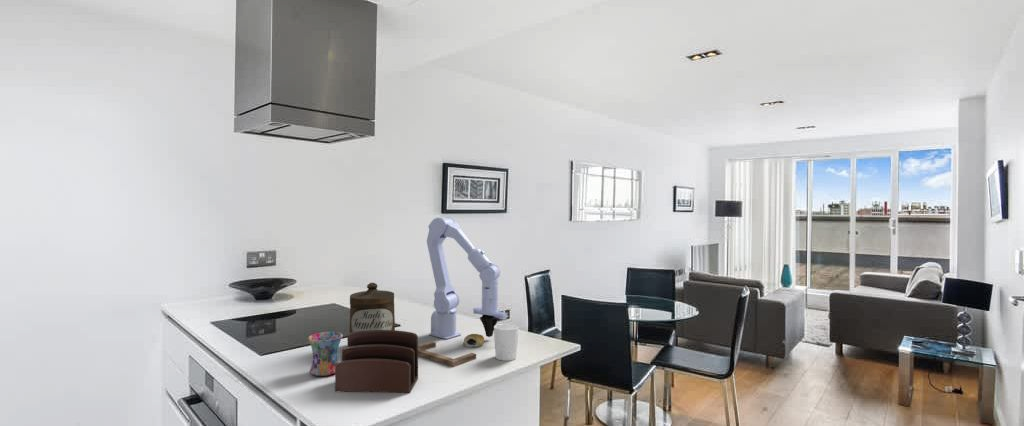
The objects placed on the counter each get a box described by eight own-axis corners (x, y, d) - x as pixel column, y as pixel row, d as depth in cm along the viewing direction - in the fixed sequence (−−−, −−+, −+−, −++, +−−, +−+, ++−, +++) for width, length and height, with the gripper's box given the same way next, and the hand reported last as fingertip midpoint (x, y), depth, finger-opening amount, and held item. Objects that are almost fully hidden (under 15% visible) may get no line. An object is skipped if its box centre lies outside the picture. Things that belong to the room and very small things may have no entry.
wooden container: (349, 355, 151) (349, 287, 151) (349, 342, 165) (349, 280, 165) (396, 351, 156) (396, 285, 155) (392, 339, 170) (393, 278, 169)
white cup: (489, 359, 149) (489, 327, 149) (501, 352, 156) (501, 322, 156) (511, 363, 145) (511, 331, 145) (522, 356, 152) (522, 325, 152)
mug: (331, 379, 130) (331, 341, 130) (301, 377, 132) (301, 339, 132) (352, 365, 142) (353, 330, 142) (324, 363, 144) (324, 328, 143)
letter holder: (348, 378, 132) (348, 328, 131) (418, 379, 131) (418, 329, 131) (334, 392, 122) (334, 338, 121) (410, 393, 122) (410, 339, 121)
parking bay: (408, 352, 154) (408, 348, 154) (431, 345, 162) (431, 341, 162) (453, 366, 141) (453, 362, 141) (476, 358, 149) (476, 353, 149)
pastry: (470, 339, 171) (470, 329, 171) (487, 341, 169) (488, 330, 169) (462, 347, 162) (462, 336, 161) (481, 348, 160) (481, 337, 160)
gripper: (512, 299, 168) (511, 337, 168) (482, 294, 177) (482, 330, 177) (499, 302, 163) (499, 341, 163) (469, 297, 172) (469, 334, 172)
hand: (489, 336), depth 170 cm, fingers closed
